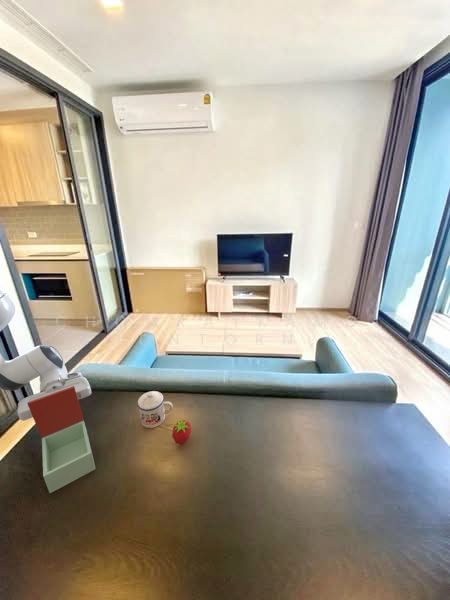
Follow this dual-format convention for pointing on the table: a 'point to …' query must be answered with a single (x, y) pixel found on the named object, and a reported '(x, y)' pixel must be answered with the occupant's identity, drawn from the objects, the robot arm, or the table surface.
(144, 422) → the teacup with lid
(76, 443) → the box
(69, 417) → the lid
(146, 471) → the table surface
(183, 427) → the strawberry
